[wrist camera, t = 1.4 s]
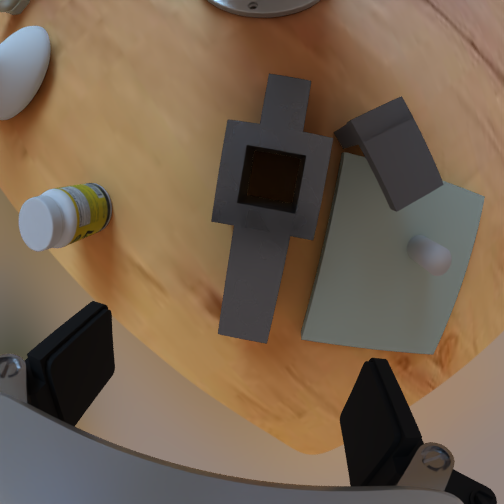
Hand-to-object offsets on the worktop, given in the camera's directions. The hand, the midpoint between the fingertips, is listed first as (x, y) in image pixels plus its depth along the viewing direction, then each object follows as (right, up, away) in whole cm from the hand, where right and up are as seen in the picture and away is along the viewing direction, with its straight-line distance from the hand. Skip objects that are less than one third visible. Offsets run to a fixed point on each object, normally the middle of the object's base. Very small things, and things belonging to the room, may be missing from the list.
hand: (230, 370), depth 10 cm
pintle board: (+13, +5, +14) cm, 20 cm away
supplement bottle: (-14, +8, +16) cm, 23 cm away
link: (+2, +8, +14) cm, 17 cm away
